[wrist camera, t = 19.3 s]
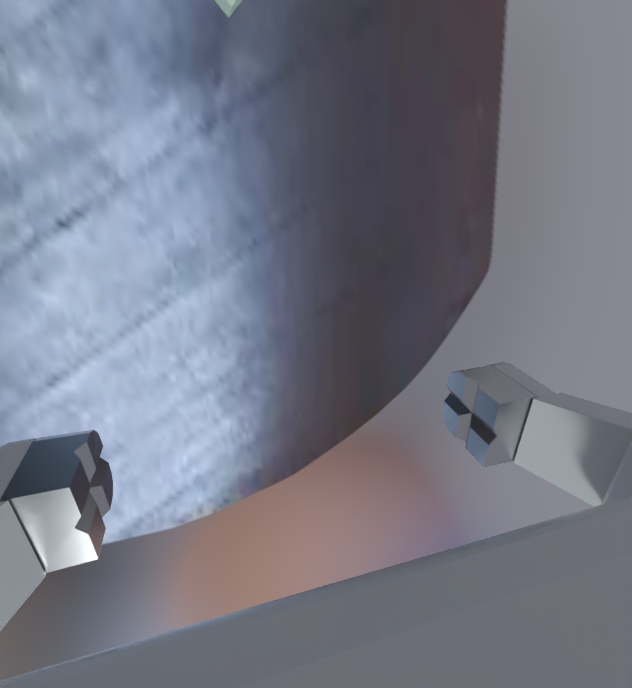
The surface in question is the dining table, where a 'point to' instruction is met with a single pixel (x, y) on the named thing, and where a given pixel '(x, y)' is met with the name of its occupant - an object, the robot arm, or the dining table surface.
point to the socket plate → (228, 5)
